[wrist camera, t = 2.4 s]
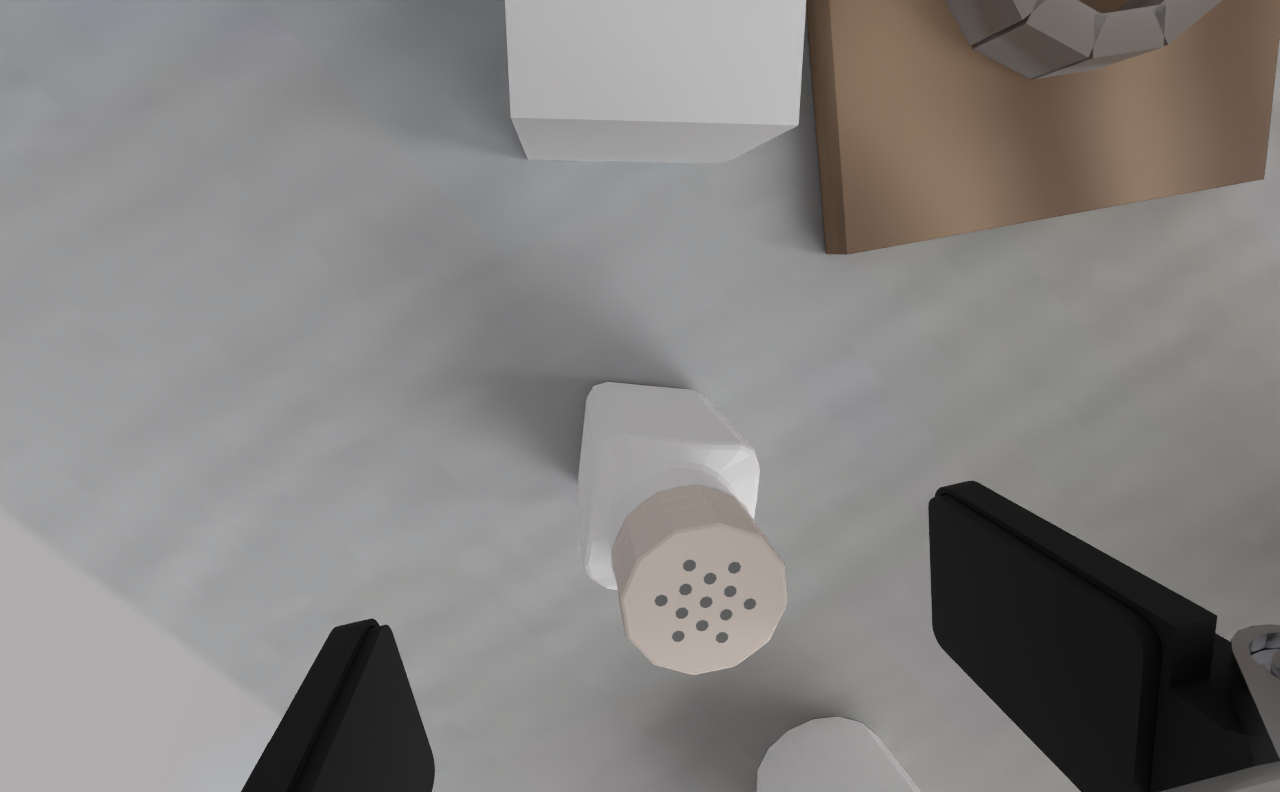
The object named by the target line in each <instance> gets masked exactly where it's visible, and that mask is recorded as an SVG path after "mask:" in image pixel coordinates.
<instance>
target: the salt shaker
mask: <svg viewBox="0 0 1280 792" xmlns="http://www.w3.org/2000/svg"><path fill="white" fill-rule="evenodd" d="M759 475H760V467H759V464H758V460H757V457H756V454H755V451H754V448H753V447H752V446H751V445H750V444H749V443H748V442H747V441H746V439H745V438H744V437H743V436H742V435H741V434H740V433H739V432H738V431H737V430H736V429H735V428H734V427H733V426H732V425H731V424H730V423H729V421H728V420H727V419H726V418H725V417H724V416H723V415H722V414H721V413H720V412H719V411H718V410H717V409H716V408H715V407H714V406H713V405H712V403H711V402H710V401H709V400H708V399H707V398H706V397H705V396H703V395H701V394H700V393H698V392H696V391H694V390H688V389H678V388H667V387H656V386H646V385H635V384H625V383H614V382H605V383H602V384H599V385H595V386H593V388H592V390H591V391H590V393H589V395H588V397H587V399H586V408H585V418H584V427H583V437H582V446H581V455H580V465H579V474H578V491H579V507H580V524H581V540H582V556H583V565H584V567H585V570H586V572H587V575H588V577H589V578H590V579H592V580H593V581H595V582H597V583H598V584H600V585H601V586H603V587H605V588H608V589H614V590H618V595H619V601H620V607H621V613H622V619H623V625H624V631H625V636H626V637H627V638H628V639H629V640H630V641H631V642H632V643H633V644H634V645H635V646H636V647H637V648H638V649H639V650H640V651H641V652H642V653H643V655H644V656H645V657H646V658H647V659H648V660H649V661H650V662H651V663H652V664H653V665H656V666H660V667H664V668H668V669H671V670H675V671H679V672H683V673H686V674H690V675H697V674H702V673H707V672H712V671H716V670H721V669H726V668H731V667H735V666H737V665H738V664H739V663H741V662H742V661H743V660H745V659H746V658H747V657H749V656H750V655H751V654H753V653H754V652H755V651H757V650H758V649H759V648H761V647H762V646H763V645H765V644H766V643H767V642H769V640H770V638H771V636H772V634H773V632H774V630H775V628H776V626H777V624H778V622H779V620H780V618H781V616H782V614H783V612H784V610H785V608H786V606H787V603H788V602H787V590H786V577H785V565H784V563H783V561H782V560H781V558H780V557H779V556H778V554H777V553H776V551H775V550H774V548H773V547H772V546H771V544H770V543H769V541H768V540H767V538H766V537H765V536H764V534H763V533H762V531H761V530H760V528H759V527H758V525H757V524H756V523H755V521H754V515H755V509H756V503H757V494H758V485H759Z"/></svg>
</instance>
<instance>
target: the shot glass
mask: <svg viewBox="0 0 1280 792" xmlns="http://www.w3.org/2000/svg"><path fill="white" fill-rule="evenodd" d="M756 792H921V791H920V789H919V788H918V787H917V786H916V784H915V783H914V782H913V781H912V779H911V778H910V777H909V775H908V774H907V773H906V772H905V770H904V769H903V768H902V767H901V765H900V764H899V763H898V761H897V760H896V759H895V758H894V756H893V755H892V754H891V753H890V751H889V750H888V749H887V748H886V746H885V745H884V744H883V742H882V741H881V740H880V739H879V737H878V736H877V735H876V734H874V733H873V732H872V731H871V730H870V729H869V728H867V727H866V726H865V725H864V724H863V723H861V722H858V721H854V720H850V719H846V718H842V717H839V716H838V717H829V718H820V719H812V720H810V721H808V722H806V723H803V724H801V725H799V726H797V727H795V728H793V729H790V730H788V731H787V732H786V733H785V734H784V735H783V736H782V737H780V738H779V739H778V740H777V741H776V742H775V743H774V744H773V745H772V746H771V747H770V748H769V749H768V750H767V752H766V754H765V756H764V758H763V760H762V762H761V764H760V766H759V768H758V770H757V790H756Z"/></svg>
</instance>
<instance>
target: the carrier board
mask: <svg viewBox="0 0 1280 792" xmlns="http://www.w3.org/2000/svg"><path fill="white" fill-rule="evenodd" d="M806 12H807V25H808V37H809V49H810V62H811V74H812V87H813V99H814V111H815V124H816V136H817V149H818V161H819V173H820V186H821V198H822V211H823V223H824V235H825V248H826V254H852V253H858V252H863V251H869V250H875V249H880V248H886V247H891V246H897V245H902V244H908V243H913V242H919V241H924V240H930V239H935V238H941V237H946V236H952V235H957V234H963V233H968V232H974V231H979V230H985V229H990V228H996V227H1002V226H1007V225H1013V224H1018V223H1024V222H1029V221H1035V220H1040V219H1046V218H1051V217H1057V216H1062V215H1068V214H1073V213H1079V212H1084V211H1090V210H1095V209H1101V208H1106V207H1112V206H1117V205H1123V204H1129V203H1134V202H1140V201H1145V200H1151V199H1156V198H1162V197H1167V196H1173V195H1178V194H1184V193H1189V192H1195V191H1200V190H1206V189H1211V188H1217V187H1222V186H1228V185H1233V184H1239V183H1244V182H1250V181H1256V180H1261V179H1264V175H1265V166H1266V156H1267V147H1268V138H1269V129H1270V119H1271V110H1272V101H1273V92H1274V82H1275V73H1276V64H1277V55H1278V45H1279V36H1280V0H806Z"/></svg>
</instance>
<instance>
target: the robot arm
mask: <svg viewBox="0 0 1280 792" xmlns="http://www.w3.org/2000/svg"><path fill="white" fill-rule="evenodd" d="M929 537H930V567H931V597H932V626H933V631H934V635H935V637H936V639H937V641H938V643H939V645H940V646H941V647H942V649H943V650H944V651H945V652H946V653H947V654H948V655H949V656H950V657H951V658H952V659H953V660H954V661H955V662H956V663H957V664H958V665H959V666H960V667H961V668H962V669H963V670H964V672H965V673H966V674H967V675H968V676H969V677H970V678H971V679H972V680H973V681H974V682H975V683H976V684H977V685H978V686H979V687H980V688H981V689H982V690H983V691H984V692H985V693H986V694H987V695H988V696H989V697H990V698H991V699H992V700H993V701H994V702H995V703H996V704H997V705H998V706H999V707H1000V709H1001V710H1002V711H1003V712H1004V713H1005V714H1006V715H1007V716H1008V717H1009V718H1010V719H1011V720H1012V721H1013V722H1014V723H1015V724H1016V725H1017V726H1018V727H1019V728H1020V729H1021V730H1022V731H1023V732H1024V733H1025V734H1026V735H1027V736H1028V737H1029V738H1030V739H1031V740H1032V741H1033V742H1034V743H1035V744H1036V746H1037V747H1038V748H1039V749H1040V750H1041V751H1042V752H1043V753H1044V754H1045V755H1046V756H1047V757H1048V758H1049V759H1050V760H1051V761H1052V762H1053V763H1054V764H1055V765H1056V766H1057V767H1058V768H1059V769H1060V770H1061V771H1062V772H1063V773H1064V774H1065V775H1066V776H1067V777H1068V778H1069V779H1070V780H1071V782H1072V783H1073V784H1074V785H1075V786H1076V787H1077V788H1078V789H1079V790H1080V791H1081V792H1280V625H1272V624H1270V625H1257V626H1250V627H1247V628H1245V629H1242V630H1239V631H1237V633H1236V634H1235V635H1234V636H1233V638H1232V639H1231V642H1230V641H1228V640H1226V639H1224V638H1223V637H1221V636H1219V635H1218V634H1216V633H1215V630H1216V622H1217V615H1215V614H1213V613H1211V612H1209V611H1208V610H1206V609H1204V608H1202V607H1201V606H1199V605H1197V604H1195V603H1193V602H1192V601H1190V600H1188V599H1186V598H1184V597H1183V596H1181V595H1179V594H1177V593H1175V592H1174V591H1172V590H1170V589H1168V588H1166V587H1165V586H1163V585H1161V584H1159V583H1157V582H1156V581H1154V580H1152V579H1150V578H1148V577H1147V576H1145V575H1143V574H1141V573H1139V572H1138V571H1136V570H1134V569H1132V568H1130V567H1129V566H1127V565H1125V564H1123V563H1121V562H1120V561H1118V560H1116V559H1114V558H1112V557H1111V556H1109V555H1107V554H1105V553H1103V552H1102V551H1100V550H1098V549H1096V548H1094V547H1093V546H1091V545H1089V544H1087V543H1086V542H1084V541H1082V540H1080V539H1078V538H1077V537H1075V536H1073V535H1071V534H1069V533H1068V532H1066V531H1064V530H1062V529H1060V528H1059V527H1057V526H1055V525H1053V524H1051V523H1050V522H1048V521H1046V520H1044V519H1042V518H1041V517H1039V516H1037V515H1035V514H1033V513H1032V512H1030V511H1028V510H1026V509H1024V508H1023V507H1021V506H1019V505H1017V504H1015V503H1014V502H1012V501H1010V500H1008V499H1006V498H1005V497H1003V496H1001V495H999V494H997V493H996V492H994V491H992V490H990V489H988V488H987V487H985V486H983V485H981V484H980V483H978V482H975V481H967V482H962V483H958V484H954V485H949V486H945V487H941V488H939V489H938V490H937V492H936V494H935V497H934V498H932V499H931V500H930V502H929ZM434 775H435V767H434V758H433V754H432V751H431V748H430V745H429V742H428V739H427V735H426V732H425V729H424V726H423V723H422V720H421V717H420V714H419V711H418V708H417V705H416V702H415V699H414V696H413V693H412V690H411V687H410V684H409V681H408V678H407V675H406V672H405V669H404V666H403V663H402V660H401V657H400V654H399V651H398V648H397V645H396V642H395V639H394V636H393V633H392V630H391V628H390V627H389V626H388V625H383V626H379V624H378V622H377V621H376V620H375V619H368V620H363V621H359V622H354V623H350V624H346V625H341V626H337V627H335V628H334V629H333V630H332V631H331V633H330V634H329V636H328V638H327V640H326V642H325V643H324V645H323V647H322V649H321V651H320V652H319V654H318V656H317V658H316V660H315V661H314V663H313V665H312V667H311V668H310V670H309V672H308V674H307V676H306V677H305V679H304V681H303V683H302V685H301V686H300V688H299V690H298V692H297V694H296V695H295V697H294V699H293V701H292V702H291V704H290V706H289V708H288V710H287V711H286V713H285V715H284V717H283V719H282V720H281V722H280V724H279V726H278V728H277V729H276V731H275V733H274V735H273V736H272V738H271V740H270V742H269V743H268V744H267V746H266V748H265V750H264V752H263V753H262V756H261V757H260V759H259V761H258V762H257V764H256V766H255V768H254V770H253V771H252V773H251V775H250V777H249V779H248V780H247V782H246V784H245V786H244V787H243V789H242V791H241V792H432V788H433V783H434Z"/></svg>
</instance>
